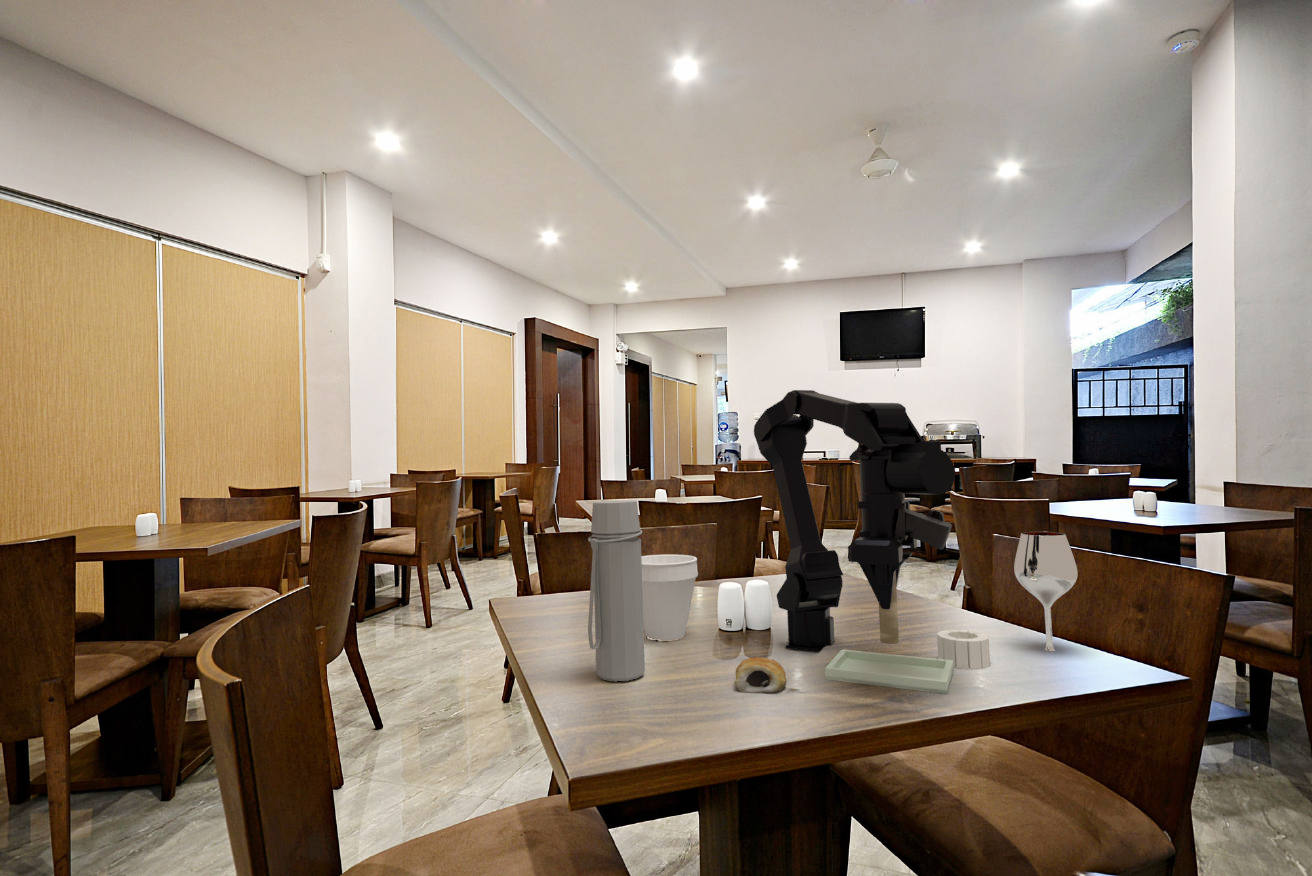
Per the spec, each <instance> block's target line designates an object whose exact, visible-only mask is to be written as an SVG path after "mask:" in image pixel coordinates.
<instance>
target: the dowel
mask: <svg viewBox="0 0 1312 876" xmlns="http://www.w3.org/2000/svg"><path fill="white" fill-rule="evenodd" d="M897 592H898V591H897V588H896V571H895V578H894V585H893V593H892V601H891V607H890V609H882V608H881V606H880V604H879V603H878V614H879V615H878V616H879V617H878V618H879V621H878V622H879V637H880V638H879V642H880V643H882V644H886V645H897V644H899V643H900V635H899V615H898V594H897Z"/></svg>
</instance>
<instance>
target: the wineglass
mask: <svg viewBox="0 0 1312 876" xmlns="http://www.w3.org/2000/svg"><path fill="white" fill-rule="evenodd" d="M1019 537H1020V538H1019V541H1018V544H1017V550H1016V554H1015V559H1014V564H1013V565H1014V566H1013V568H1014V570H1013V571H1014V576H1015V577H1016V578H1015V579H1016V580H1017V581H1018V582H1019V584H1020V585H1021V586H1022V587H1023V588H1024V589H1025V590H1027V592H1029V593H1030V594H1031V595H1032V596H1033V597H1035V598H1036V599H1037V600H1038V601H1039V602H1040V603H1041V604H1042V606H1043V608H1044V620H1045V621H1044V623H1045V624H1044V625H1045V641H1046V643H1045V648H1044V651H1047V652H1056V650H1055V646H1054V640H1053V630H1052V629H1053V628H1052V627H1053V626H1052V625H1053V624H1052V610H1051V608H1052V606H1053V605H1054V603H1055V602H1056V601H1057V600H1058V599H1059V598H1061V597H1062V596H1063V595H1064V594H1066V593H1067V592H1068V591H1070V589H1072V588H1073V586H1074V585H1075V584H1076V582H1077V579H1078V574H1079V573H1078V566H1077V564H1076V561H1075V558H1074V554H1073V552H1072V549H1071V546H1070V545H1071V544H1070V543H1069V541H1068V538H1067V535H1066V534H1065V533H1063V532H1057V531H1056V532H1052V531H1026V532H1021V533H1020V536H1019Z"/></svg>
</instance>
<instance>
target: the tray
mask: <svg viewBox="0 0 1312 876" xmlns="http://www.w3.org/2000/svg"><path fill="white" fill-rule="evenodd" d="M954 669H955V667H953V660H945V659H938V658H934V657H933V658H932V657H923V656H922V657H921V656H915V655H914V656H913V655H902V654H894V653H882V652H872V651H862V650H855V649H854V650H852V649H843V648H842V649H841V650H840V651H839V652H838V653H837V654H836V655H835V656H834V658H832V659H831V661H830V662H829V663H828V664H827V666H826V667H825V668H824V678H825V679H824V680H827V681H828V680H829V681H836V682H842V683H843V682H844V683H852V684H862V685H868V686H877V687H883V688H884V687H885V688H893V689H901V690H909V691H911V690H912V691H918V692H926V693H927V692H928V693H933V694H935V693H936V694H942V695H948V694H949V691H950V690H949V689H950V686H951V683H952V679H953V676H954V672H955V670H954Z"/></svg>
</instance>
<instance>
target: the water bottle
mask: <svg viewBox="0 0 1312 876" xmlns="http://www.w3.org/2000/svg"><path fill="white" fill-rule="evenodd" d="M639 516H640V515H639V509H638V501H637V500H610V501H609V500H606V501H596V502H594V501H593V502H592V512H591V524H590V525H591V528H590V530H591V531H590V533H592V534H591V535H590V536H589V537H588V538H587V540H588V542H589V543H590V545H591V547H590V548H591V550H592V557H591V558H592V560H591V573H590V574H591V575H590V590H589V592H590V593H589V606H588V607H589V608H588V622H587V623H588V625H587V635H588V643H589V648H590V649H592V650H595V663H596V664H595V671H596V673H595V674H596V675H597V677H599V678H601V679H602V680H605V681H606V680H607V681H608V682H612V681H614V682H613V683H618V682H617V681H626V682H630V681H629V680H631V681H634V680H633V679H635V680H636V679H638V678H640V677H642V676H643V675H644V673H645V672H646V671H645V670H646V663H645V662H646V661H645V660H646V659H645V657H646V656H645V630H644V623H643V591H642V559H641V556H642V539H641V538H639V536H641V535H642V534H643V530H642V529H641V525H640V518H639ZM593 616H594V617H593ZM593 619H594V634H595V636H594V637H595V639H594V638H593ZM593 639H594V640H595V643H594V640H593ZM607 681H606V682H607Z"/></svg>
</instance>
